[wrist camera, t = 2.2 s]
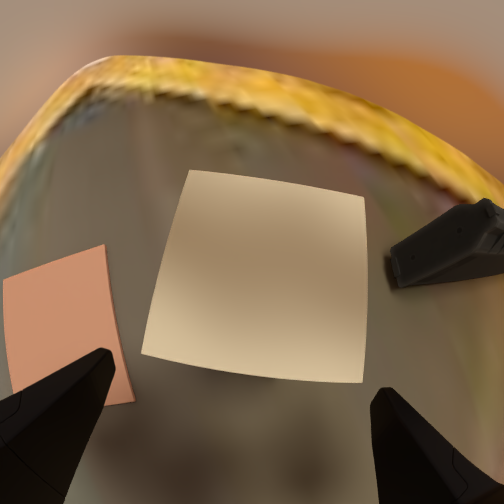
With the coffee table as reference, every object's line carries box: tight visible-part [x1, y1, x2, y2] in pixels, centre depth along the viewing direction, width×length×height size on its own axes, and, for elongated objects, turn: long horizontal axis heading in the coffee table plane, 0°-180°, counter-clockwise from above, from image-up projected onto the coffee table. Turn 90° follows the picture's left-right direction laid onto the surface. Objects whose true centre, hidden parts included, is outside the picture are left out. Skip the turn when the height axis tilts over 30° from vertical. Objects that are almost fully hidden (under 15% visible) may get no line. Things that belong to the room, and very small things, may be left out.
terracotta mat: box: [3, 244, 136, 406], centre depth 17 cm, size 12×12×1 cm
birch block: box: [141, 170, 368, 383], centre depth 13 cm, size 5×5×13 cm
